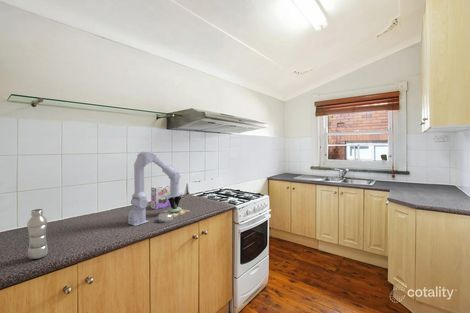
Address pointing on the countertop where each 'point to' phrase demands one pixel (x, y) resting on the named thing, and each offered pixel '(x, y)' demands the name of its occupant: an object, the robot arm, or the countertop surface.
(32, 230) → the plastic bottle
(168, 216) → the tin
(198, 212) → the countertop surface
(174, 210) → the lid
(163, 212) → the board
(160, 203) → the candy box
